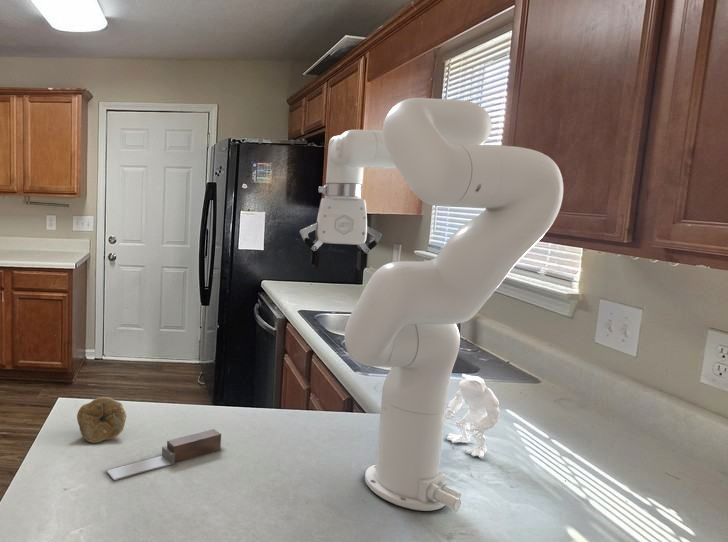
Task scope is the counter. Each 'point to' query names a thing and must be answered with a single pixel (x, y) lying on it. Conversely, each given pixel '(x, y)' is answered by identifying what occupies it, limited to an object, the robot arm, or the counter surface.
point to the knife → (173, 453)
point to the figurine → (474, 412)
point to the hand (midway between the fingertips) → (337, 269)
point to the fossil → (101, 419)
